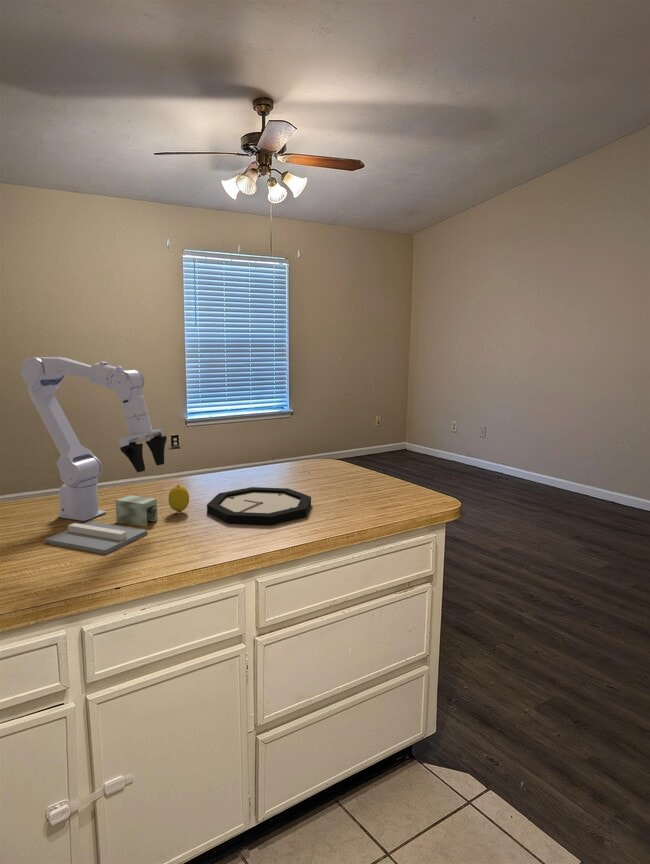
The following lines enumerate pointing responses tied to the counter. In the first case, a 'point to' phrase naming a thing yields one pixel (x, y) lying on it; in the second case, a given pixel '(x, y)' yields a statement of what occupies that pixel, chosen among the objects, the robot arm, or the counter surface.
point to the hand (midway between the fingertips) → (151, 468)
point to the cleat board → (96, 537)
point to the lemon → (178, 498)
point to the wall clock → (259, 506)
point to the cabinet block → (136, 510)
